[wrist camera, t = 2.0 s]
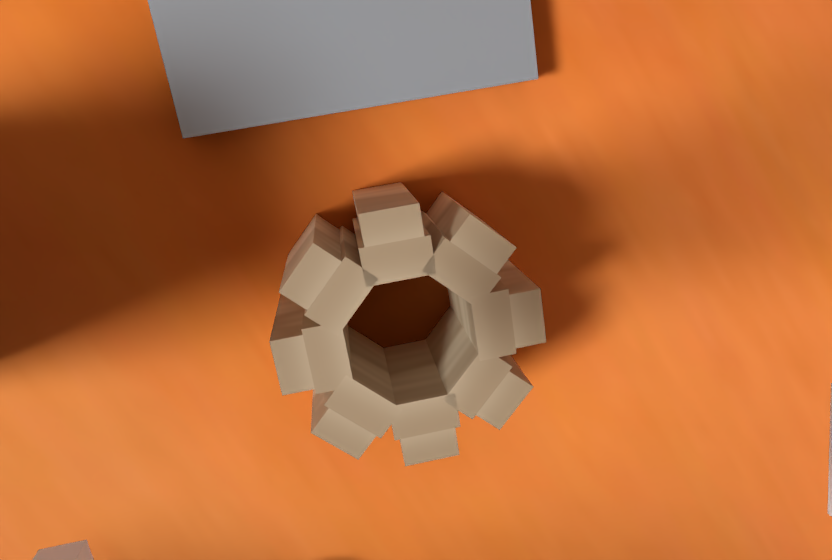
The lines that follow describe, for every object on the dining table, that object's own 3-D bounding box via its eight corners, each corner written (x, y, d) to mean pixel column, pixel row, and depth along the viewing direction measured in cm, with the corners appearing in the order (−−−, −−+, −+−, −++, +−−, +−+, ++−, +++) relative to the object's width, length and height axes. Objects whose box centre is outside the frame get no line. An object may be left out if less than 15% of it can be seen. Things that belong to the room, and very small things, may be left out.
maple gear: (308, 415, 26) (304, 487, 21) (261, 206, 24) (244, 234, 19) (515, 373, 27) (556, 434, 22) (489, 166, 24) (528, 183, 19)
